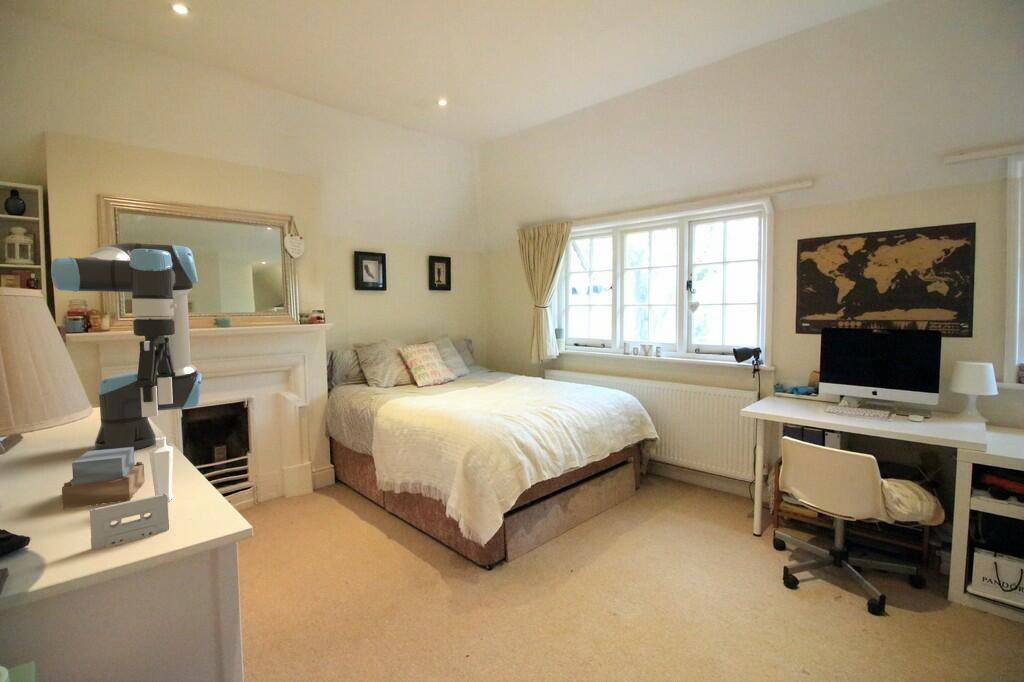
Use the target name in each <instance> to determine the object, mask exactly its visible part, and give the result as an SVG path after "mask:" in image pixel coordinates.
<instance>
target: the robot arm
mask: <svg viewBox="0 0 1024 682" xmlns="http://www.w3.org/2000/svg"><path fill="white" fill-rule="evenodd" d="M195 262H196V261H195V259H194V255H193V251H192V250H191V248H189V247H187V246H181V245H174V244H162V243H161V244H159V243H158V244H157V243H137V242H121V243H115V244H108V245H105V246H100V247H98V248H96V249H94V250H93V251H92V252H91V253H90V254H89V255H87V256H85V257H72V256H69V257H55V258H54V259H53V260H52V261H51V266H50V268H51V269H50V273H51V274H50V276H51V280H52V283H53V286H54V287H55V288H56V289H57V290H59V291H66V292H68V291H69V292H73V293H74V292H75V293H76V292H114V293H131V306H132V307H131V308H132V312H131V313H132V316H133V317H134V318H135V319H133V321H132V327H133V328H132V329H133V335H135V336H138V337H144V340H140V341H139V357H138V366H137V367H138V368H137V371H131V372H124V373H120V374H119V373H118V374H115V375H111V376H107V377H104V378H102V379H101V380H100V381H99V383H98V387H99V388H98V397H99V399H98V400H99V411H100V427H99V430H98V432H97V436H96V438H95V440H94V441H95V442H94V451H95V450H106V449H116V448H127V447H134V451H135V450H141V449H143V448H147V447H150V446H151V445H154V444H156V440H155V439H156V438H157V437H156V433H155V431H154V429H153V426H152V425H151V423H150V421H149V417H157V416H159V411H168V410H169V411H170V410H183V409H189V408H195V407H197V406H198V404H199V403H200V398H201V397H200V396H201V387H202V378H203V374H202V373H201V372H198V371H197V369H198V368H197V367H196V366H195V365H193V364H192V360H191V344H190V343H191V341H190V339H191V337H190V324H189V323H190V319H189V302H188V301H189V299H188V294H189V293H190V292H192V290H193V289H194V288H193V287H194V285H195V284H198V282H199V279H198V274H197V268H196V263H195Z"/></svg>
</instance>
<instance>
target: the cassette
mask: <svg viewBox="0 0 1024 682" xmlns="http://www.w3.org/2000/svg"><path fill="white" fill-rule="evenodd" d="M146 514H149V515H148V516H145V515H146ZM134 516H139V518H137V519H133V520H129V521H124V522H122V519H126V518H130V517H134ZM169 519H170V518H169V502H168V497H167V494H161V495H156V496H155V495H152V496H148V497H143V498H138V499H133V500H129V501H122V502H118V503H113V504H110V505H106V506H101V507H96V508H95V507H94V508H91V509H89V523H90V524H89V525H90V546H91V547H90V548H91V550H93V551H94V550H97V549H98V550H99V549H102V548H108V547H112V546H115V545H119V544H124V543H127V542H132V541H135V540H140V539H143V538H148V537H150V536H154V535H158V534H160V533H163V532H167V530H168V531H169V530H170V520H169ZM113 522H116V523H113ZM111 523H112V524H111Z"/></svg>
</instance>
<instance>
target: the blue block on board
mask: <svg viewBox="0 0 1024 682" xmlns="http://www.w3.org/2000/svg"><path fill="white" fill-rule="evenodd" d="M71 467H72V468H71V469H72V470H71V471H72V479H70V481H68V482H64V483H63V486H62V487H61V498H62V509H63V510H67V509H66V508H68V509H73V508H74V507H75V508H81V507H89V505H91V506H96V504H98V505H103V504H102V503H106V504H111V503H110V502H114V503H119V502H118V501H121V502H128V501H127V500H129V501H131V500H132V498H134V496H135V495H136V494H137V492H138V491H139V490H140V489H141V488H142V486H143V485H144V484H145V483H144V482H145V465H144V463H143V461H137V462H135V450H134V447H127V448H116V449H106V450H95V449H94V450H87V451H86V452H85V453H84V454H82V455H80V456H79V457H77V458H76V459H75V460H74V461H72V462H71ZM139 488H140V489H139ZM138 489H139V490H138ZM135 493H136V494H135ZM134 494H135V495H134ZM133 495H134V496H133ZM130 499H131V500H130ZM75 508H74V509H75Z"/></svg>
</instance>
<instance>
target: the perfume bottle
mask: <svg viewBox="0 0 1024 682" xmlns="http://www.w3.org/2000/svg"><path fill="white" fill-rule="evenodd" d="M155 440H156V442H155V447H153V448H151V449H150V450H148V455H149V461H150V467H151V469H150V470H151V475H152V476H151V477H152V482H153V483H152V484H153V489H154V496H156V495H161V494H167V497H168V501H170V500H171V499H172V498H173V497H174V495H173V492H172V490H173V489H172V488H173V465H174V464H173V462H174V447H173V446H171V445H170V446H169V445H167V436H160V437H156V439H155ZM173 499H174V498H173ZM173 499H172V500H173ZM172 500H171V501H172ZM171 501H170V502H171Z"/></svg>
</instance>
